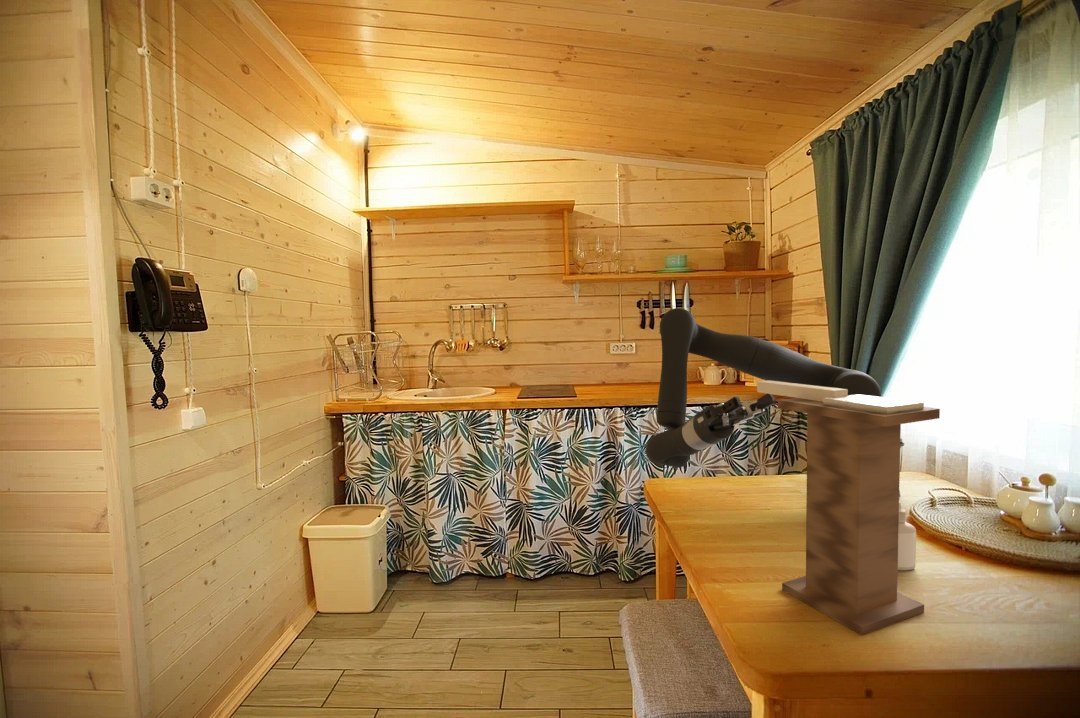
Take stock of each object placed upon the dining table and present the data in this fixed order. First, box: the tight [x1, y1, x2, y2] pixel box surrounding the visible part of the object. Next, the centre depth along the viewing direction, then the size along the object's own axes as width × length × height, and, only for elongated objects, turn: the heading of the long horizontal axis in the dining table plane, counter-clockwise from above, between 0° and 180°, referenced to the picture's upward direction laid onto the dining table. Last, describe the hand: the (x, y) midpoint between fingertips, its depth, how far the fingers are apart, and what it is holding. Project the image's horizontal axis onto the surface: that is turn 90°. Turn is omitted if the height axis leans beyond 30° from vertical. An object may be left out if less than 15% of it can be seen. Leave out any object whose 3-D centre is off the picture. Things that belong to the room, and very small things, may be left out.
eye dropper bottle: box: [898, 501, 917, 571], centre depth 93 cm, size 4×6×12 cm
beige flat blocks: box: [756, 380, 925, 414], centre depth 85 cm, size 26×8×2 cm, turn 23°
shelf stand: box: [777, 397, 941, 636], centre depth 82 cm, size 18×14×32 cm
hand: (756, 399), depth 99 cm, fingers open, 8 cm apart
